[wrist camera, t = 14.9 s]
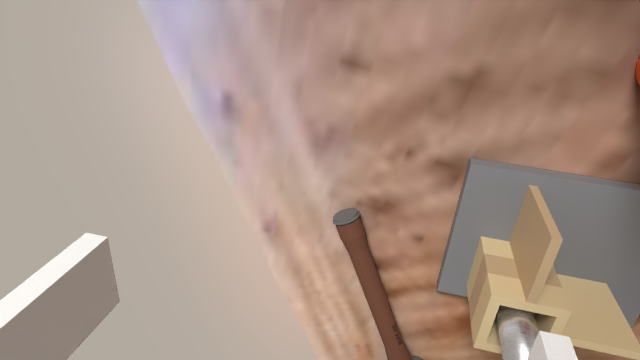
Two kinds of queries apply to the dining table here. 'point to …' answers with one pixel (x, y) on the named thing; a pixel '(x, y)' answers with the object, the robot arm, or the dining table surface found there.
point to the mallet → (371, 282)
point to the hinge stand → (547, 254)
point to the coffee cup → (638, 71)
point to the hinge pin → (516, 332)
